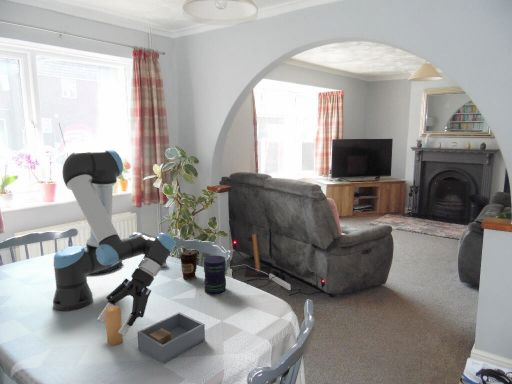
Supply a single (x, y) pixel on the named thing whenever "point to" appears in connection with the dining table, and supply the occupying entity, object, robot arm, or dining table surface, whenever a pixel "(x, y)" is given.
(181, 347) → the tote
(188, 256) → the coffee cup
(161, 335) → the walnut cube
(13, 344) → the dining table surface
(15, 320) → the dining table surface
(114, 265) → the electronic game
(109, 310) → the tan dome-topped cylinder
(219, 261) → the storage jar
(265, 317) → the dining table surface
